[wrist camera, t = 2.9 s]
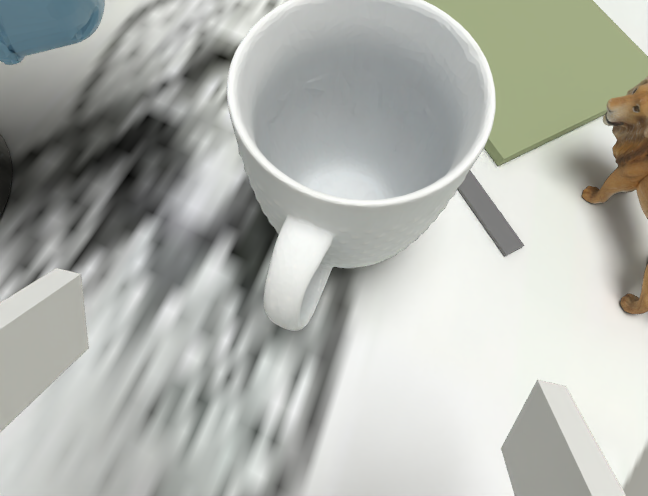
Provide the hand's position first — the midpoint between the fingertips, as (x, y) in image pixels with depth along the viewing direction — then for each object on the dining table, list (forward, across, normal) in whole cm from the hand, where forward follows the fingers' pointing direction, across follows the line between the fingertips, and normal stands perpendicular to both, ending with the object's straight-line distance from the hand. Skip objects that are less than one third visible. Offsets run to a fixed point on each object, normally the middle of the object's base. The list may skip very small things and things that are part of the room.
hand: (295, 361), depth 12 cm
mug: (+17, 0, -3) cm, 17 cm away
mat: (+30, +11, +11) cm, 34 cm away
